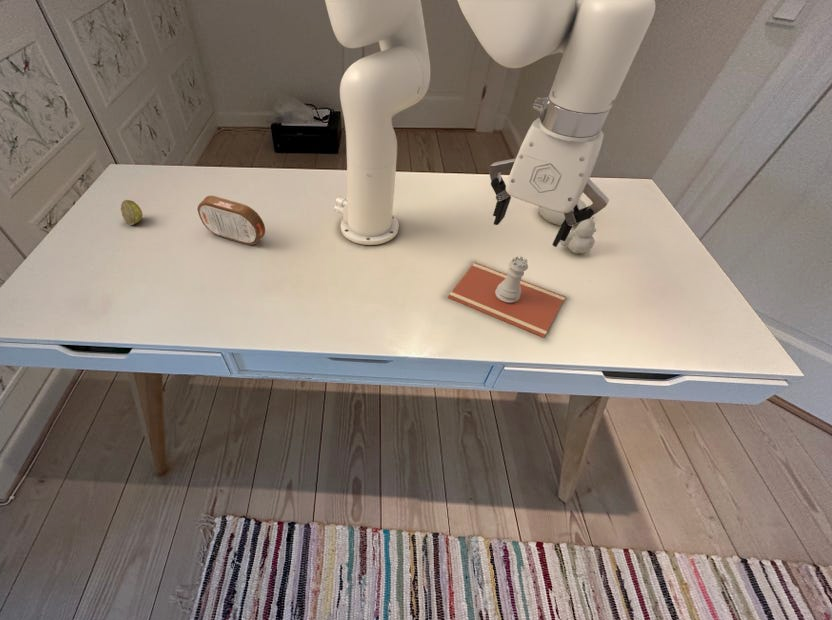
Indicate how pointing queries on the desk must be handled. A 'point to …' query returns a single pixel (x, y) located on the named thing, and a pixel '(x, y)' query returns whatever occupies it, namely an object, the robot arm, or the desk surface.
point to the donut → (556, 214)
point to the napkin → (525, 313)
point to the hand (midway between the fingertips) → (527, 231)
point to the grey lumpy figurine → (581, 237)
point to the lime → (131, 212)
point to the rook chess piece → (512, 281)
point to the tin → (231, 220)
